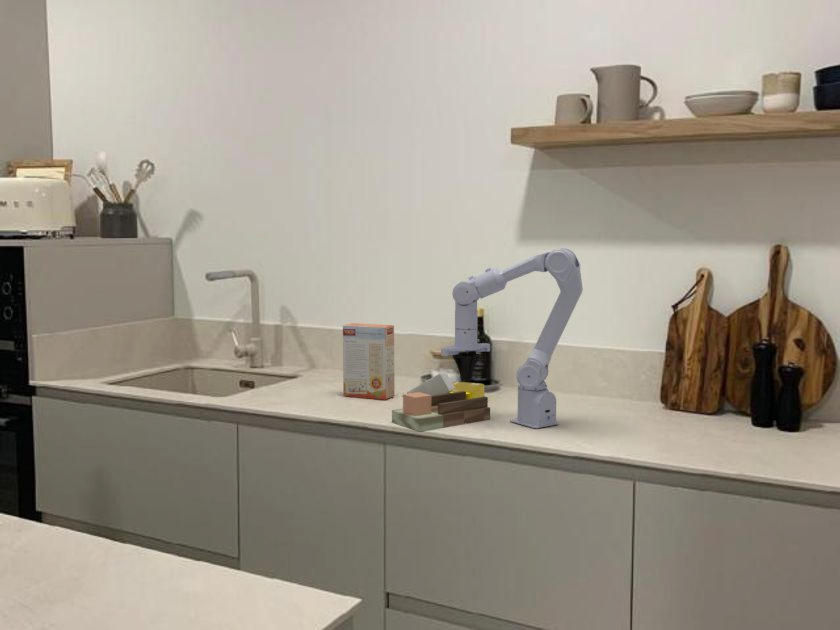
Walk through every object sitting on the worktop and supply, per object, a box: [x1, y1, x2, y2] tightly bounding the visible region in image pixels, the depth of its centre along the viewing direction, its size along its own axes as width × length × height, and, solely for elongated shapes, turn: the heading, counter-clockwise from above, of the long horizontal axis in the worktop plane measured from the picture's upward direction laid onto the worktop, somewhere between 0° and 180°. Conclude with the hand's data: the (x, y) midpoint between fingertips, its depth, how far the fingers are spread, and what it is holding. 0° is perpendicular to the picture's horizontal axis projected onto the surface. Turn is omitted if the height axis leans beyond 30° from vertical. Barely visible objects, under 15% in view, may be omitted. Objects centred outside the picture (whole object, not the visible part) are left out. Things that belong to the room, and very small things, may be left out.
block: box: [402, 392, 431, 416], centre depth 206 cm, size 5×5×4 cm
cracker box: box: [342, 323, 395, 401], centre depth 239 cm, size 14×6×21 cm, turn 64°
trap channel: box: [391, 391, 491, 432], centre depth 210 cm, size 12×22×6 cm, turn 125°
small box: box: [406, 370, 455, 396], centre depth 222 cm, size 8×6×10 cm
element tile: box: [449, 380, 485, 399], centre depth 236 cm, size 15×15×5 cm
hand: (465, 381), depth 213 cm, fingers closed
